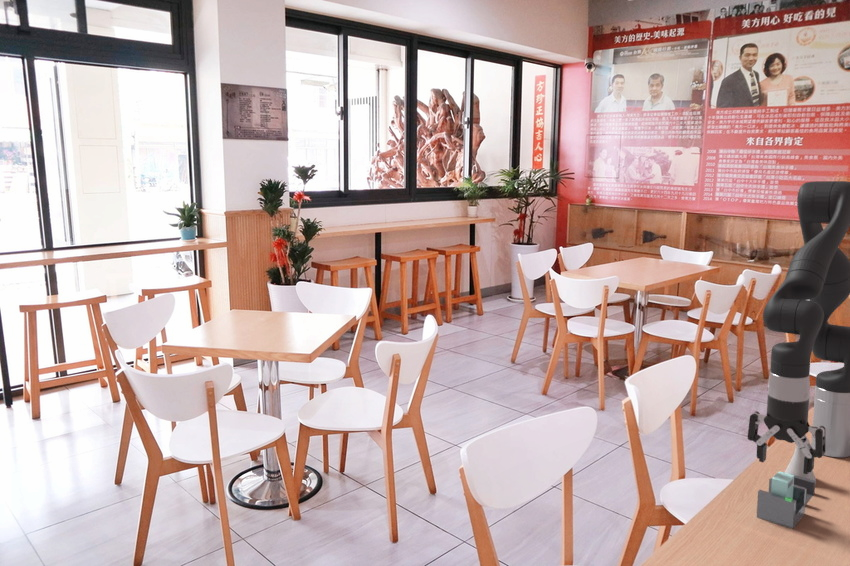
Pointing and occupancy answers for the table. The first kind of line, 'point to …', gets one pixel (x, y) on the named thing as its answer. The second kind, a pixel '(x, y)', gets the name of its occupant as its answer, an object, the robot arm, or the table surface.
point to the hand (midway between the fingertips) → (784, 466)
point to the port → (781, 506)
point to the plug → (783, 484)
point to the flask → (799, 465)
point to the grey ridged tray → (807, 484)
